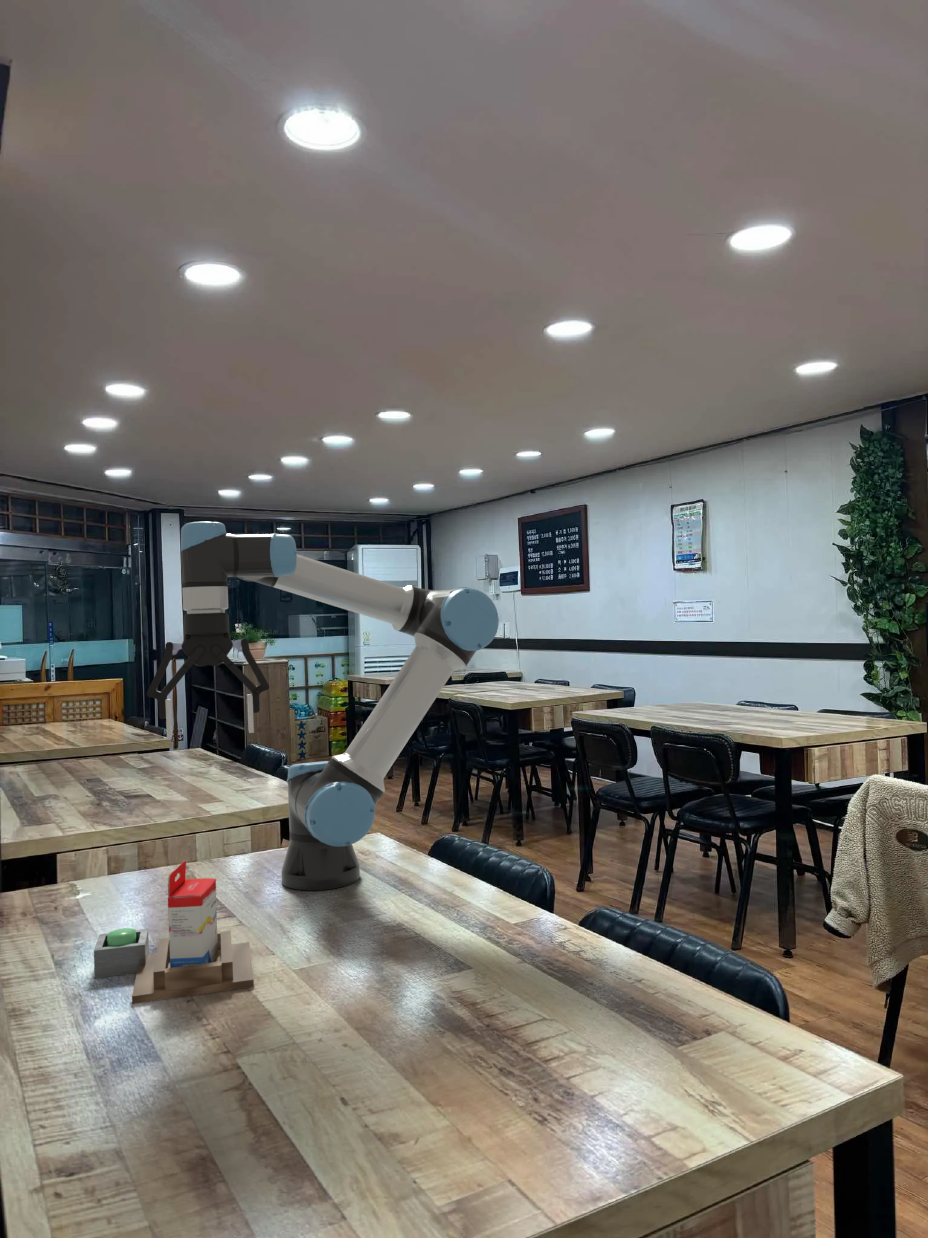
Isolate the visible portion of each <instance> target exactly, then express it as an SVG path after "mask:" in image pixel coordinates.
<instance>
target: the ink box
mask: <svg viewBox="0 0 928 1238" xmlns="http://www.w3.org/2000/svg"><path fill="white" fill-rule="evenodd" d="M186 871H187V862H186V860H183V861H182V862H181V863H180V864H179V865H178V866H176V868H175V869H174V870H173V871H171V872H170V873H169V875H168V880H167V881H168V882H167V912H168V938H169V944H170V968H174V967H181V966H189V965H197V964H204V963H212V962H214V961H215V959H216V958H217V956H218V941H217V930H218V922H217V921H218V919H217V918H218V916H217V912H218V911H217V879H216V878H212V877H211V878H209V877H207V878H205V877H204V878H192V879H191V878H188V879H187V878H186V875H187V873H186ZM177 876H178V878H177V879H176V877H177Z"/></svg>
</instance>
